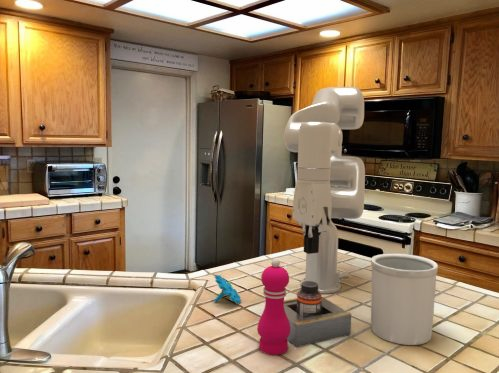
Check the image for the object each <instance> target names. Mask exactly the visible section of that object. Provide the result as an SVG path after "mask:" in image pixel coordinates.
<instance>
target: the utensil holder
mask: <svg viewBox="0 0 499 373" xmlns="http://www.w3.org/2000/svg"><path fill="white" fill-rule="evenodd" d="M370 264H371V265H370V266H371V295H370V297H371V298H370V324H371V326H370V329H371V332H373V334H374V335H376V336H377V337H378V338H380V339H383V340H385V341H387V342H391V343H394V344H398V345H404V346H405V345H407V346H418V345H423V344H426V343H428V342H430V341H431V340H432V335H433V324H434V313H435V298H436V296H435V295H436V284H437V283H436V282H437V274H438V271H439V265H438V263H437V262H435V261H434V260H432V259H429V258H427V257H423V256H419V255H415V254H406V253H382V254H377V255H373V256H372V257H371V259H370Z"/></svg>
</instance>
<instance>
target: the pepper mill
mask: <svg viewBox="0 0 499 373" xmlns="http://www.w3.org/2000/svg"><path fill="white" fill-rule="evenodd" d="M280 264H281V263H280V261H279V260H278V259H276V258H275V259H273V260H272V261H271V265H269V266H267V267H266V268H264V269H263V271H262V273H261V276H260V278H261V281H260V282H261V284H262V285H263V286H264V287H263V291H262V292H263V293H262V294H263V296H264V297H265V302H264V304H265V306H264V308H263V311H262V313H261V315H260V317H259V319H258V323H257V328H256V329H257V333H258V335H259V337H260V338H259V343H258V344H259V346H258V348H259V350H260V351H261V352H262V353H264V354H268V355H272V356H274V355H275V356H277V355H282V354H284V353H286V352H287V351H288V349H289V341H288V340H287V339H286V338H287V337H288V336H289V335H290V323H289V320H288V318H287V315H286V313H285V310H284V300H285V297H286V296H287V288H286V287H288V285H289V282H290V275H289V272H288V270H287V269H286V268H285V267H282V266H280Z"/></svg>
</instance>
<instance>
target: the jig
mask: <svg viewBox="0 0 499 373" xmlns="http://www.w3.org/2000/svg"><path fill="white" fill-rule="evenodd" d="M284 310H285V313H286V315H287V318H288V320H289V323H290V335H289V336H288V337H287V338H286V339H287V340H288V342H289V343H291V344H292V345H293V346H294V347H295V348H298V347H302V346H307V345H310V344H311V345H312V344H315V343H319V342H324V341H329V340H332V339H337V338H341V337H346V336H350V335H351V334H352V332H351V329H352V312H351V311H347V310H345V309H344V308H341V306H338V305H337V304H335V303H333V302H331V300H328V299H327V298H325V297H323V296H322V308H321V315H318V316H313V317H308V318H303V317H302V316H300V315H299V314H297V297H294V298H289V299H284Z"/></svg>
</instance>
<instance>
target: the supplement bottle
mask: <svg viewBox="0 0 499 373" xmlns="http://www.w3.org/2000/svg"><path fill="white" fill-rule="evenodd" d="M296 296H297V297H296V298H297V314H299V315H300V316H302V317H303V318H308V317H313V316H318V315H321V308H322V297H323V296H322V293H320V292H319V291H318V284H317V283H316V282H313V281H304V282H302V284H301V286H300V290H298V292H297V294H296Z"/></svg>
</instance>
